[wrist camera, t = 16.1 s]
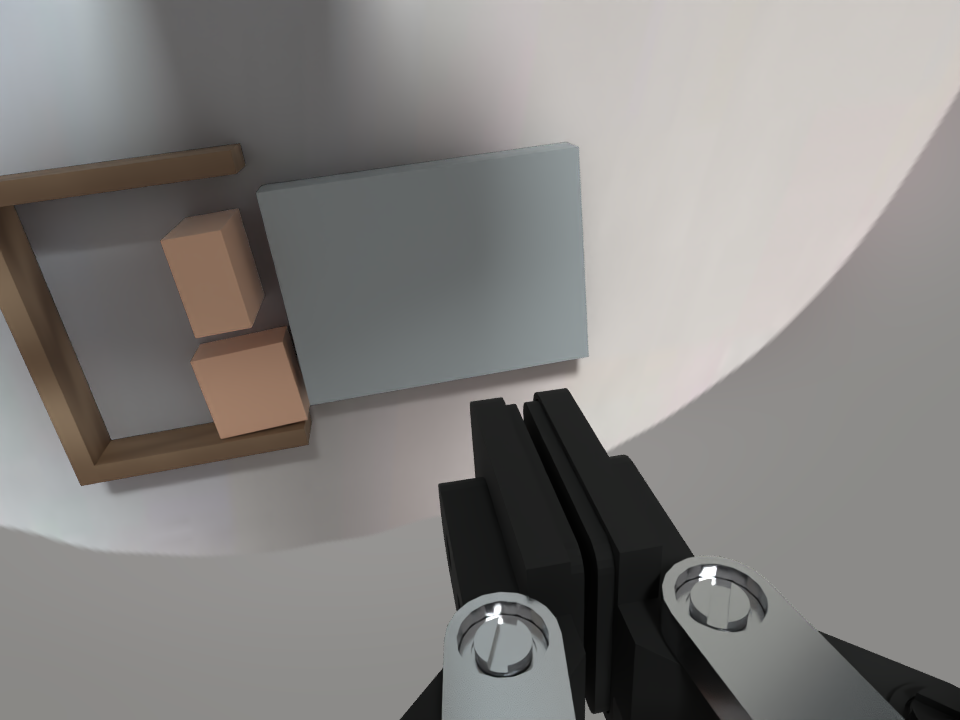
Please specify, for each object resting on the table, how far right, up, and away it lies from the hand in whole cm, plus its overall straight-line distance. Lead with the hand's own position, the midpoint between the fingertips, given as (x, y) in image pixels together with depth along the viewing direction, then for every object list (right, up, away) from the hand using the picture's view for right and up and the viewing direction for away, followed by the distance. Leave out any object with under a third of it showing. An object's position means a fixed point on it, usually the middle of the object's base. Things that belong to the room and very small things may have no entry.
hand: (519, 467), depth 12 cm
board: (-3, +7, +23) cm, 24 cm away
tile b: (-13, +1, +24) cm, 27 cm away
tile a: (-12, +6, +19) cm, 23 cm away
